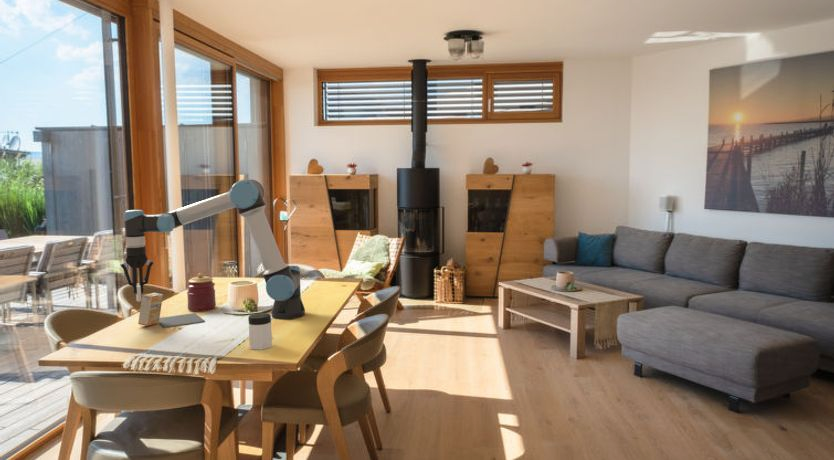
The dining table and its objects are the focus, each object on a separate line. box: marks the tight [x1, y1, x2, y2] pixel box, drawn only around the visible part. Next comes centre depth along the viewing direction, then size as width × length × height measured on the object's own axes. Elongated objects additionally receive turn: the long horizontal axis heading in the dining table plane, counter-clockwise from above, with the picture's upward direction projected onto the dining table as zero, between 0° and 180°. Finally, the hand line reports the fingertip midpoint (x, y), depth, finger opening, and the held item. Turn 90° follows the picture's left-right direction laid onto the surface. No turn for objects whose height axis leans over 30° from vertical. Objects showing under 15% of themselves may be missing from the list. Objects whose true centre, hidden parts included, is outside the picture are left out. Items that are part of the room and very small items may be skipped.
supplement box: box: [137, 292, 164, 327], centre depth 254 cm, size 8×5×13 cm, turn 169°
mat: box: [158, 312, 206, 329], centre depth 261 cm, size 18×17×1 cm
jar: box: [248, 312, 273, 351], centre depth 220 cm, size 9×8×12 cm
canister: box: [186, 272, 217, 312], centre depth 283 cm, size 13×13×18 cm
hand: (138, 300), depth 251 cm, fingers closed
